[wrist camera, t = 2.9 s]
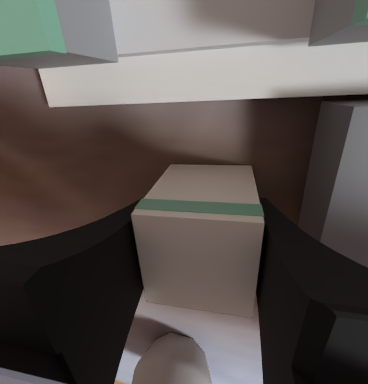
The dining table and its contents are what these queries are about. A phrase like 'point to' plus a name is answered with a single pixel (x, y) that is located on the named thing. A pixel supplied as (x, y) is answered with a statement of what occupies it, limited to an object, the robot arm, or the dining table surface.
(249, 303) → the block
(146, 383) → the salt shaker
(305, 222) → the relay
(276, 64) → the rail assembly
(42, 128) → the dining table surface
